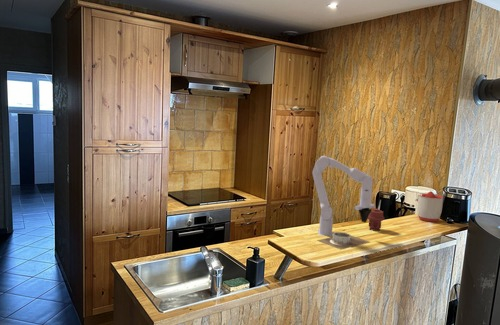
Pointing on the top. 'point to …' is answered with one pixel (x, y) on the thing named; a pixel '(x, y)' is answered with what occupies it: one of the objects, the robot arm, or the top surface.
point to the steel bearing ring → (341, 238)
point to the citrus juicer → (429, 207)
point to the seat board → (353, 242)
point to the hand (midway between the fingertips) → (363, 221)
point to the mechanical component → (375, 219)
